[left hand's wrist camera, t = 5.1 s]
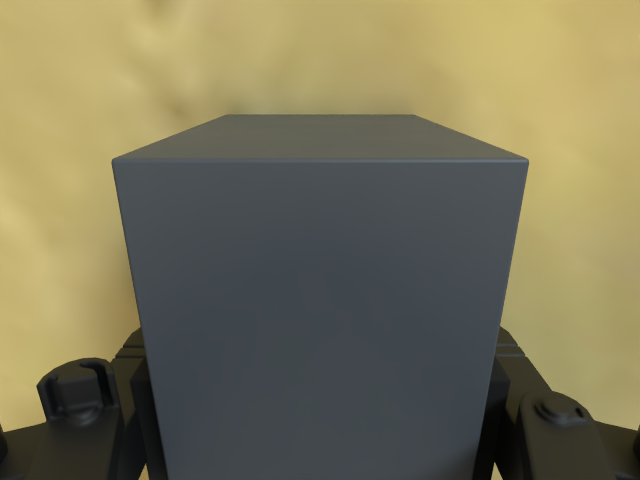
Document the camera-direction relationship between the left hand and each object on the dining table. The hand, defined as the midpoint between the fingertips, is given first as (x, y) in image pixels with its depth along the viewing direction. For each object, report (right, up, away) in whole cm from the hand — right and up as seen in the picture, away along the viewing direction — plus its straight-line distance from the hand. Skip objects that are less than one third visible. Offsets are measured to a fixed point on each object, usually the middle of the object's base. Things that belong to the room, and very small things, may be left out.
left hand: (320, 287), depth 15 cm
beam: (0, -23, +9) cm, 25 cm away
